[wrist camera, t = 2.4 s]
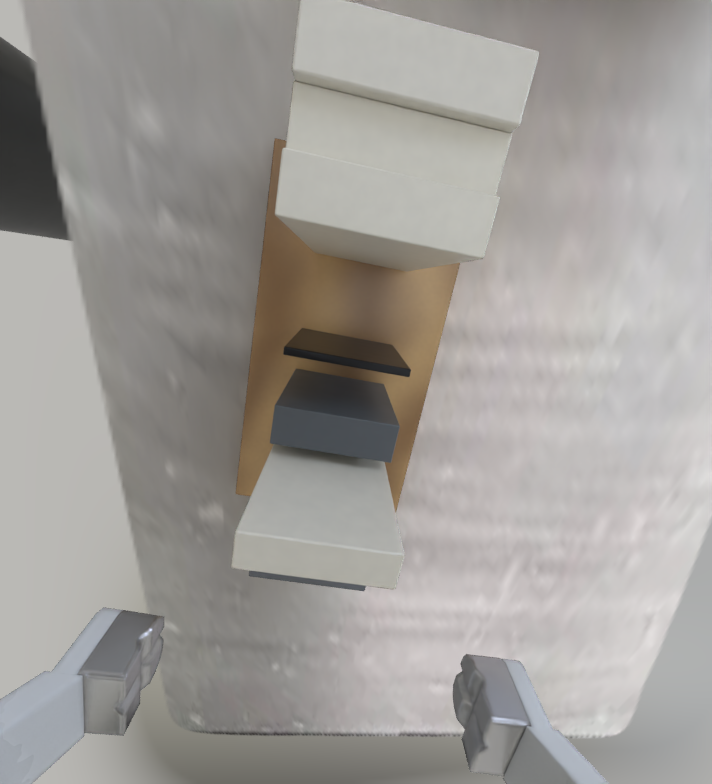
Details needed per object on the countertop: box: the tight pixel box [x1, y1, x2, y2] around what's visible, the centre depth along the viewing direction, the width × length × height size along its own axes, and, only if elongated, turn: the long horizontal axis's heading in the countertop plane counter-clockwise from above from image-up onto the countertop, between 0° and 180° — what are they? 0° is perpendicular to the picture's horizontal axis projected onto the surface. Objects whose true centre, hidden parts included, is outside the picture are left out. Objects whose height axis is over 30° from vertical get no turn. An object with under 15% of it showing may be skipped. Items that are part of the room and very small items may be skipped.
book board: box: [236, 139, 460, 513], centre depth 24 cm, size 12×23×1 cm, turn 169°
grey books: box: [249, 369, 400, 591], centre depth 21 cm, size 6×9×8 cm, turn 169°
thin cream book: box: [231, 444, 405, 589], centre depth 19 cm, size 6×2×13 cm, turn 79°
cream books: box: [275, 0, 539, 272], centre depth 15 cm, size 6×5×13 cm
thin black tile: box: [283, 328, 411, 377], centre depth 20 cm, size 6×1×7 cm, turn 79°
